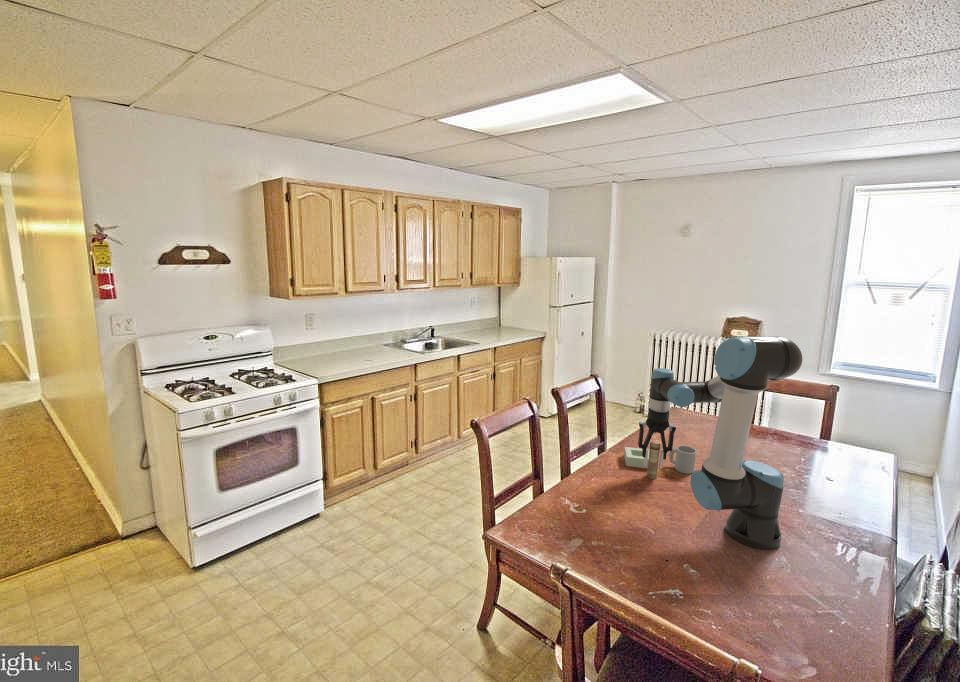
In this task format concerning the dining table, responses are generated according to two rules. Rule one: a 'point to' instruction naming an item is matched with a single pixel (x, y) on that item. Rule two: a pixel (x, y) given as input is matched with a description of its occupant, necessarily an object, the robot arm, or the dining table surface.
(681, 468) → the cup
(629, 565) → the dining table surface
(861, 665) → the dining table surface
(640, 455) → the square block with hole
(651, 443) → the striped wooden dowel
